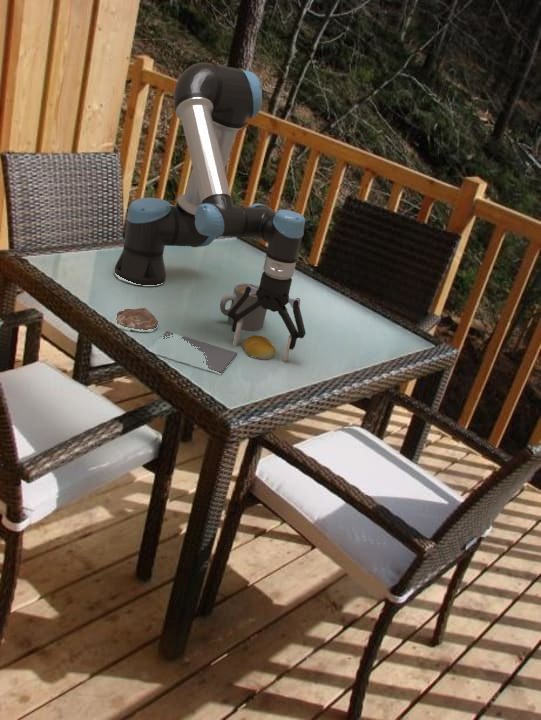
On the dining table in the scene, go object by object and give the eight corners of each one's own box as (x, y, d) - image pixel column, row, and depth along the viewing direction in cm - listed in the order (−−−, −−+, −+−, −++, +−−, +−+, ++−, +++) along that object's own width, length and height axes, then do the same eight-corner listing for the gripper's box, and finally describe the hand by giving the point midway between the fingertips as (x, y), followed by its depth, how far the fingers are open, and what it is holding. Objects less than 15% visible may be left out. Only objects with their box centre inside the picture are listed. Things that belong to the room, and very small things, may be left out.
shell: (165, 322, 190) (167, 309, 189) (148, 338, 179) (150, 325, 177) (125, 310, 191) (126, 298, 190) (105, 326, 180) (106, 313, 178)
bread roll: (250, 360, 179) (253, 346, 178) (238, 344, 187) (241, 331, 185) (280, 361, 183) (283, 347, 181) (267, 345, 190) (271, 332, 188)
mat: (146, 352, 171) (146, 349, 171) (166, 333, 183) (167, 331, 182) (221, 375, 168) (221, 372, 168) (236, 355, 180) (237, 352, 180)
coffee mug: (259, 318, 206) (266, 285, 202) (266, 332, 197) (273, 299, 193) (213, 312, 202) (220, 279, 198) (218, 327, 193) (225, 293, 189)
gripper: (225, 264, 174) (210, 342, 183) (323, 292, 171) (303, 371, 179) (234, 257, 181) (219, 333, 190) (329, 284, 177) (309, 360, 186)
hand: (260, 351), depth 185 cm, fingers open, 13 cm apart
